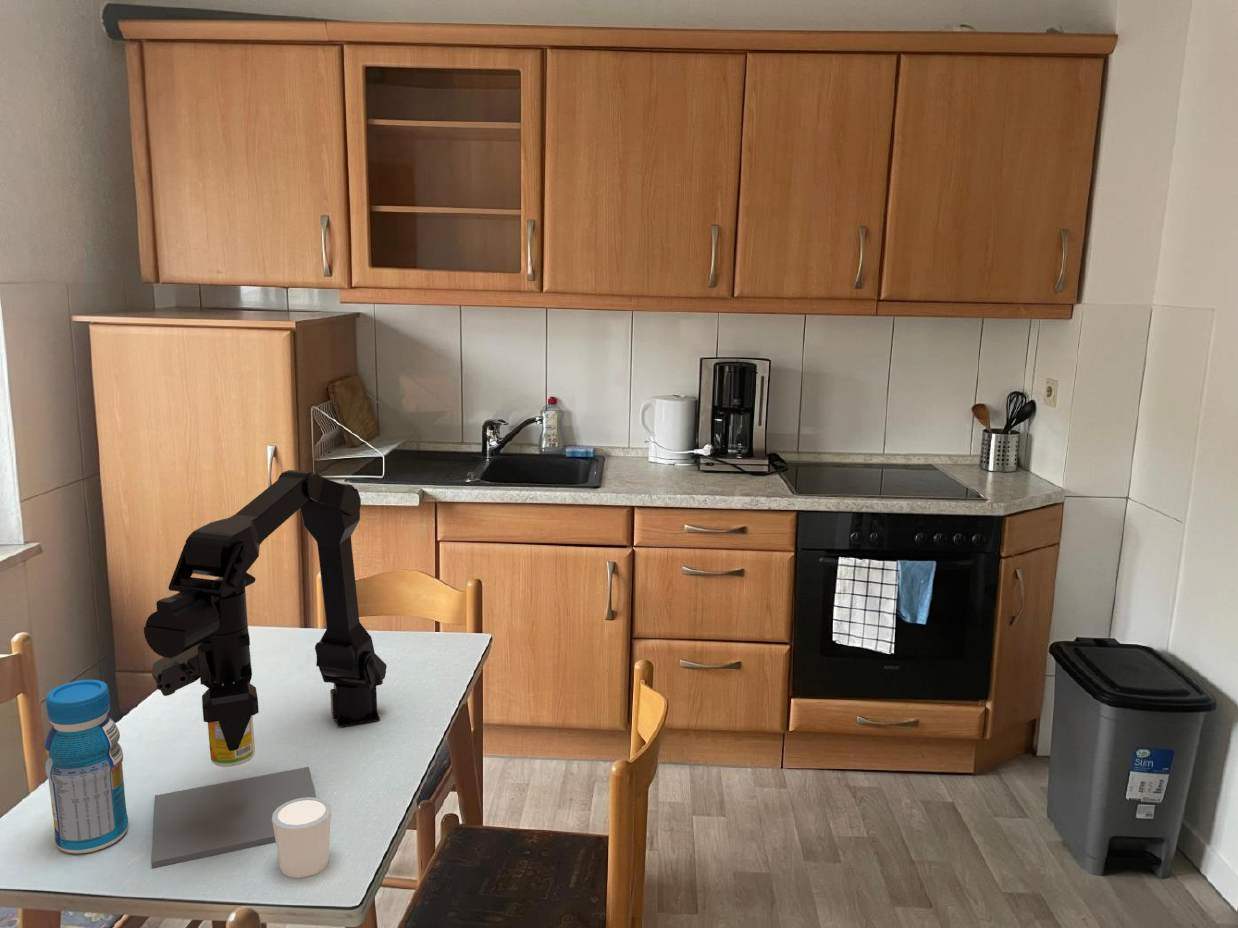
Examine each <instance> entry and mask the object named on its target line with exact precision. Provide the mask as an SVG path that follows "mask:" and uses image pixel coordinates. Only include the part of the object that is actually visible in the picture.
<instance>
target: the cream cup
mask: <svg viewBox="0 0 1238 928" xmlns="http://www.w3.org/2000/svg"><path fill="white" fill-rule="evenodd" d="M331 819H332V805H331V804H330V803H329V802H328V801H327V800H325V799H323V798H320V797H317V798H313V797H306V798H298V799H295V800H292V801H289V802H286V803H284V804H283V805H281V806H279V807H278V808H277V809H276V810H275V811H274V813H273V816H272V822H273V828H274V834H275V840H276V842H275V844H276V851H277V852H276V853H277V856H278V863H279V868H280V871H281V872H282V874H283V875H285V876H286V877H289V878H294V879H295V878H297V879H301V878H308V877H311V876H314V875H316V874H319V873H320V872H322V871H323V870H324V869H325V868H326V867H327V866H328V864H329V857H330V856H329V855H330V854H329V853H330V842H331V841H330V840H331V839H330V836H331V822H332V821H331Z"/></svg>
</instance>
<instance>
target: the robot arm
mask: <svg viewBox="0 0 1238 928" xmlns="http://www.w3.org/2000/svg"><path fill="white" fill-rule="evenodd" d="M361 500H362V499H361V496H360V493H359V491H358V489H357V488H355V486H353V484H349V483H340V482H337V481H335V480H331V479H327V478H325V477H323V476H322V475H320V474H318V473H316V472H314V471H303V470H294V469H288V470H287V471H282V472H281V473H280V475H279V476H278V479H277V480H276V481H275V482H274V483H272V484H271V485H270V486H268V487H267V488H266V489H264V491H262V492H261V493H260V494H258V495H257V496H256V497H255V498H253V499H252V500H251V501H250V502H248V503H247V504H246V505H245V506H243V507H242V508H241V509H240V510H239V511H237V512H236V513H235V514H233V515H231V516H229V517H227V518H223V519H219V520H215V521H210V522H209V523H207V524H205V525H203V526H201V527H199V528H196V529H195V530H194V531H192V532H191V533H190V534H189V535H188V537H187V538H186V540H185V544H183V548H182V550H181V553H180V555H179V557H178V561H177V564H176V567H175V569H174V572H173V575H172V577H171V579H170V582H169V584H168V587H167V588H168V590H169V592H170V591H171V592H178V593H175V594H173V595H171V596H169V597H163V598H161V599H159V600H156V603H155V604H156V605H155V606H156V611H154V612H151V614H150V615H149V616H148V617H147V620H146V621H145V625H144V627H143V634H144V638H145V640H146V643H147V645H148V646H149V647H150V649H151V650H152V651H153V652H154V653H156V655H158V656H161V657H162V658H160V659H157V660H156V661H155V662H154V663H153V664H152V666H151V667H152V668H151V676H152V678H153V680H154V682H155V683H156V689H157V690H158V691H160V693H161V694H162V696H164V697H166V696H167V697H168V696H170V695H173V694H175V692H176V691H178V690H180V689H182V688H184V687H186V686H188V685H191V684H193V683H195V682H197V681H198V680H199V679H200V680H199V681H200V682H199V683H200V685H203V686H204V687H206V688H207V690H206V691H205V692H204V693H203V694H202V695H201V705H202V706H201V707H202V718H203V722H204V723H207V724H208V723H210V722H216V721H218V722H219V724H220V727H221V730H222V733H223V736H224V739H225V741H226V744H227V747H228V750H229V751H234V750H237V749H238V748H239V745H240V743H241V740H242V738H243V735H244V733H245V730H246V728H247V725H248V723H249V721H250V718H251V716H253V717H254V716H255V715H257V714H259V712H260V711H259V698H258V697H259V696H258V693H257V687H256V686H255V685H253V684H252V683H251V680H252V676H253V671H252V670H253V669H252V660H251V651H250V650H251V649H250V645H251V640H250V638H251V637H250V633H249V623H248V622H249V621H248V610H247V609H248V607H247V593H246V587H248V586H250V585H253V584H254V583H255V582H256V580H257V579H256V577H255V576H253V575H252V574H250V573H248V571H249V569H250V568H251V567H252V565H253V564H254V563H255V562H256V561H257V559H259V557H260V546H261V544H262V543H263V542H264V541H265V540H267V538H268V537H269V536H270V535H272V534H273V533H274V532H275V531H276V530H277V529H278V528H279V527H280V526H282V525H283V524H284V523H286V521H287V520H289V519H290V518H291V517H292V516H293V515H294V514H295V513H296V512H298V511H299V510H300V514H301V517H302V521H303V522H302V523H303V526H304V528H305V529H306V530H307V532H309V534H310V535H311V536H312V538H313V539H314V540H315V541H316V545H317V552H318V554H317V555H318V561H319V562H318V563H319V569H320V571H319V572H320V579H321V588H322V597H323V606H324V607H323V608H324V613H325V615H324V616H325V623H326V629H325V631H324V633H323V634H322V637H321V639H320V640H319V641H318V642H316V643H315V646H314V650H315V654H316V664H315V666H316V667H318V668H319V669H318V671H319V672H320V675H321V677H322V680H323V682H324V683H331V684H333V688H331V689H330V691H329V694H330V695H329V696H330V710H331V715H332V718H333V720H335V721H336V724H337V727H338V728H339V727H340V728H341V727H342V728H343V727H348V726H353V725H359V724H360V725H361V724H366V723H372V722H378V721H380V720H381V719H380V718H381V717H380V713H379V712H378V700H377V699H378V698H377V695H378V694H377V687H378V686H381V685H382V684H383V682H384V681H383V680H384V679H385V678H386V674H387V663H386V662H385V661H383V659H382V658H381V657H380V656H378V655H377V654H376V653H375V648H374V643H373V638H372V636H371V634H369V632H368V631H367V630H366V628H365V627H364V626H363V624H362V623H361V622H360V614H359V613H360V612H359V605H358V604H359V603H358V595H357V586H356V585H357V583H356V576H355V566H354V555H353V554H354V553H353V544H352V535H353V533H354V532H355V529H356V527H357V526H358V524H359V522H360V520H361V504H362V501H361ZM193 575H198V576H207V577H216V578H215V579H209V578H203V577H192V576H193ZM233 682H235V684H233ZM223 683H224V685H223V686H222V684H223Z"/></svg>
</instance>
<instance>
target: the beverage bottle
mask: <svg viewBox="0 0 1238 928" xmlns="http://www.w3.org/2000/svg"><path fill="white" fill-rule="evenodd" d="M110 698H111V697H110V689H109V687H108V685H107V683H106V682H104V681H102V680H99V679H81V680H80V679H79V680H76V681H75V680H74V681H71V682H70V681H69V682H66V683H63V684H60V685H59V686H57V687H54V688H53V689H52V690H50V691H49V692H48V693H47V695H46V700H45V702H46V713H47V718H48V720H49V723H51V724H52V726H51V728H50V730H49V731H48V733H47V736H46V739H45V742H44V753H45V755H46V756H47V757H48V758H47V760H46V761H45V775H46V777H47V778H48V786H49V794H50V795H49V796H50V802H51V803H50V804H51V809H52V810H51V811H52V818H53V827H54V841H55V844H56V846H57V848H58V849H59V850H61V851H62V852H65V853H69V854H86V853H92V852H96V851H100V850H102V849H105V848H107V847H109V846H111V845H114V844H115V843H116V842H118V841H119V840H120V839H122V838H123V836H125V834H126V833H127V831H128V828H129V817H128V811H127V803H126V793H125V782H124V781H125V780H124V771H123V769H124V767H123V761H124V751H123V748H122V746H121V745H120V743H119V740H120V738H121V733H120V729H119V728H118V726H117V724H116V722H115V720H113V719H112V718H111V716H109V715H108V713H109V712H110V710H111V699H110Z"/></svg>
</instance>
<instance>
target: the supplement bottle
mask: <svg viewBox="0 0 1238 928" xmlns="http://www.w3.org/2000/svg"><path fill="white" fill-rule="evenodd" d="M233 684H235V682H233ZM223 685H224V683H223V684H222V686H223ZM253 717H254V715H253V716H251V718H250V721H249V723H248V725H247V728H246V730H245V733H244V735H243V738H242V740H241V743H240V745H239V748H238V749H237V750H234V751H229V750H228V747H227V744H226V741H225V739H224V736H223V733H222V730H221V727H220V724H219V722H218V721H216V722H210V723H208V722H207V730H208V741H209V745H208V746H209V754H210V760H211V763H212V764H214V765H215V766H217V767H220V768H221V767H222V768H228V767H229V768H230V767H236V766H241V765H243V764H245V763H247V762H249V761H250V760H252V759H253V758H254V755H255V752H256V747H255V746H256V745H255V743H256V742H255V732H254V731H255V730H254V718H253Z"/></svg>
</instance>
